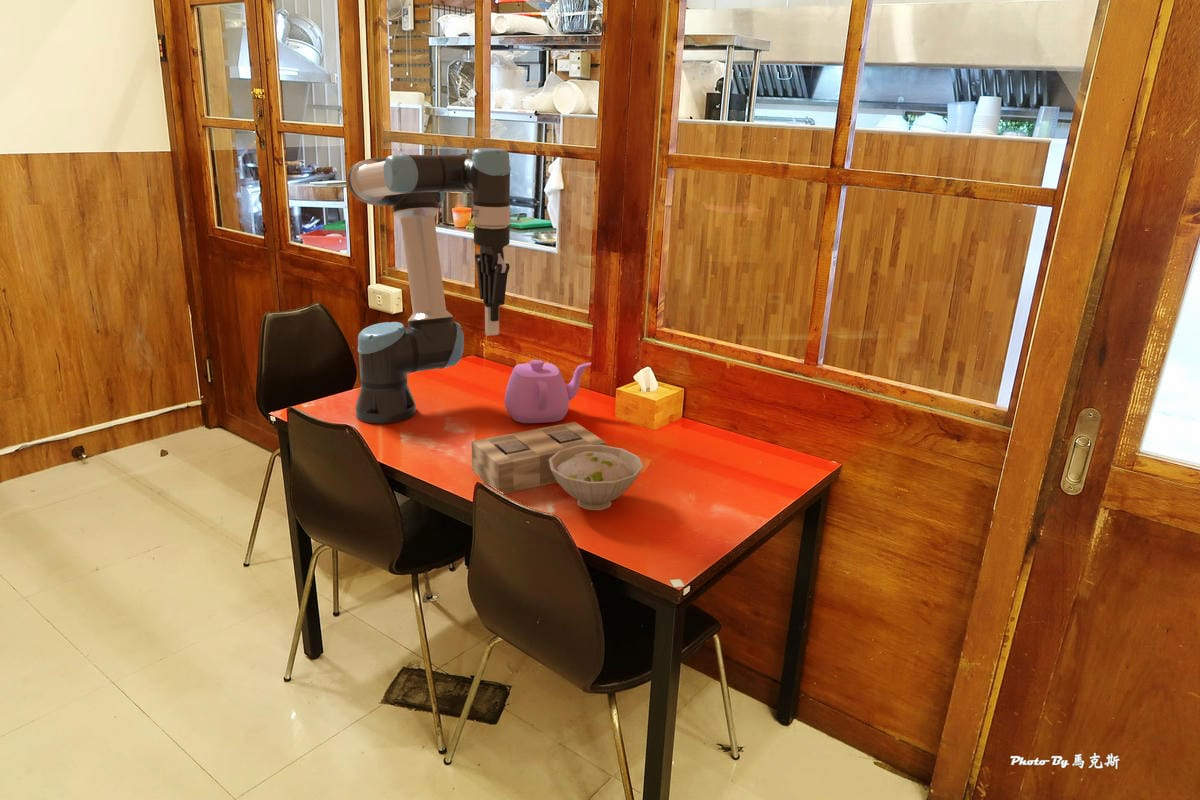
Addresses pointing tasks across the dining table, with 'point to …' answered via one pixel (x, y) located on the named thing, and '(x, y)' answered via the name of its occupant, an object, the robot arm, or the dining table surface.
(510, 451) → the near peg
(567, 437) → the far peg
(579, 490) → the bowl
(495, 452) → the socket block
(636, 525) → the dining table surface
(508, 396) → the teapot
